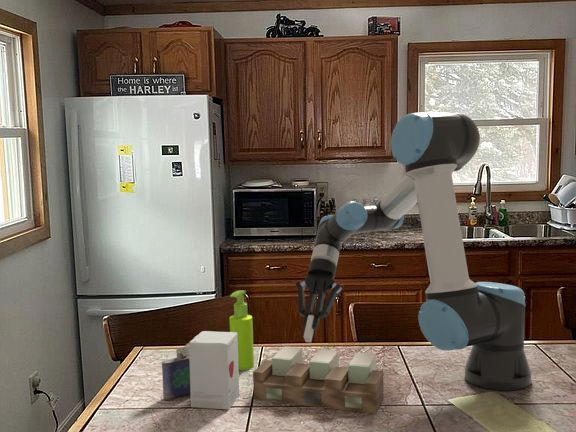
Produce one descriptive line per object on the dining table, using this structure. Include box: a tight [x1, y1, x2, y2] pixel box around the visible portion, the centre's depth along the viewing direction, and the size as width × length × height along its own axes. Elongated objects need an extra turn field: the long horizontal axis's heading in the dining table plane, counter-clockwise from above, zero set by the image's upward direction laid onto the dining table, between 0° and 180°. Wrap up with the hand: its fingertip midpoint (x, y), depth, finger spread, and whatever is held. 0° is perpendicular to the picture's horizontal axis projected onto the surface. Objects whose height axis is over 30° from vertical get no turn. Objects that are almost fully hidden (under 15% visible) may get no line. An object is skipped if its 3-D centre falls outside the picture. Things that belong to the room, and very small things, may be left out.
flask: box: [161, 350, 191, 402], centre depth 148 cm, size 9×3×11 cm, turn 121°
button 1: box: [271, 345, 304, 376], centre depth 151 cm, size 4×9×4 cm, turn 161°
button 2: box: [347, 352, 377, 384], centre depth 146 cm, size 4×9×4 cm, turn 161°
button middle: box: [308, 348, 340, 380], centre depth 149 cm, size 4×9×4 cm, turn 161°
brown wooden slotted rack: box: [252, 359, 384, 415], centre depth 144 cm, size 28×8×6 cm, turn 71°
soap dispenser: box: [228, 289, 255, 371], centre depth 165 cm, size 6×7×20 cm
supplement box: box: [188, 330, 240, 410], centre depth 144 cm, size 9×9×15 cm
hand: (307, 339), depth 167 cm, fingers closed
